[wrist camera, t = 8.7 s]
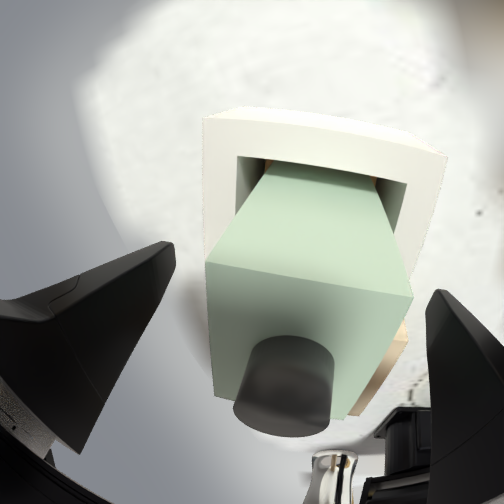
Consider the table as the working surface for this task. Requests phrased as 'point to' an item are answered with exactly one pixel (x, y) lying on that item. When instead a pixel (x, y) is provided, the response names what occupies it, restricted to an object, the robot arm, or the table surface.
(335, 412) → the plug
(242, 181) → the socket
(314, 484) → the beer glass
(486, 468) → the robot arm
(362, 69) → the table surface
